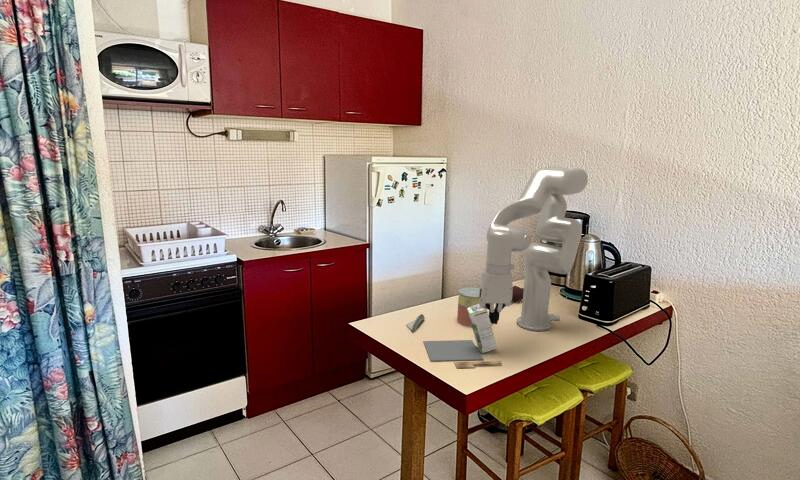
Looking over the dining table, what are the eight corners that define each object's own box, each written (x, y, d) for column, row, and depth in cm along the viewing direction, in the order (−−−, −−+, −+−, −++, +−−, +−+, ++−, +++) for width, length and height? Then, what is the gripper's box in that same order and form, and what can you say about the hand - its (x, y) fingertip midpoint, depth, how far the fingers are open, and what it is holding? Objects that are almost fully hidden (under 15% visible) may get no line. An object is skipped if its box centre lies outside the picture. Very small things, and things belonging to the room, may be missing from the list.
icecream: (517, 281, 205) (497, 290, 195) (531, 281, 199) (511, 290, 189) (520, 296, 205) (500, 306, 196) (534, 296, 200) (514, 306, 190)
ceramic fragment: (413, 334, 162) (414, 324, 161) (400, 331, 163) (400, 321, 163) (425, 321, 174) (426, 311, 174) (413, 318, 176) (413, 309, 175)
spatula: (498, 362, 142) (498, 359, 142) (502, 367, 139) (502, 364, 139) (454, 363, 141) (454, 360, 141) (456, 369, 137) (457, 366, 137)
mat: (472, 341, 157) (472, 339, 157) (483, 360, 143) (483, 359, 143) (423, 342, 155) (423, 341, 155) (430, 361, 141) (430, 360, 141)
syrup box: (477, 346, 153) (465, 307, 149) (493, 340, 153) (482, 302, 149) (481, 354, 147) (469, 314, 144) (498, 348, 147) (487, 308, 144)
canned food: (475, 314, 181) (477, 285, 178) (492, 324, 171) (495, 294, 169) (451, 318, 176) (452, 289, 173) (467, 329, 166) (470, 298, 164)
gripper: (516, 265, 149) (511, 317, 153) (471, 265, 147) (468, 318, 151) (524, 271, 142) (519, 326, 145) (478, 271, 140) (474, 327, 144)
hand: (493, 322), depth 148 cm, fingers closed
